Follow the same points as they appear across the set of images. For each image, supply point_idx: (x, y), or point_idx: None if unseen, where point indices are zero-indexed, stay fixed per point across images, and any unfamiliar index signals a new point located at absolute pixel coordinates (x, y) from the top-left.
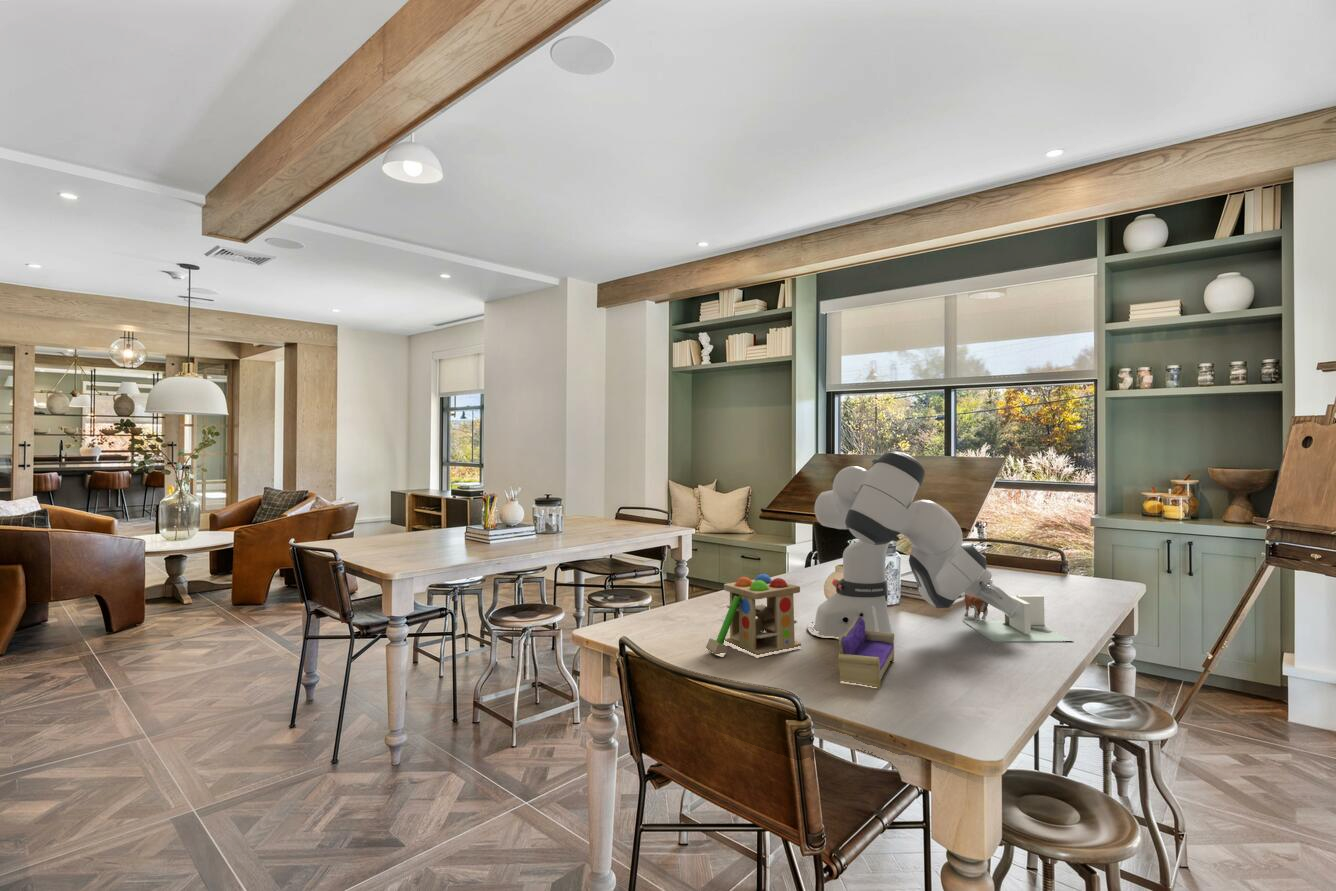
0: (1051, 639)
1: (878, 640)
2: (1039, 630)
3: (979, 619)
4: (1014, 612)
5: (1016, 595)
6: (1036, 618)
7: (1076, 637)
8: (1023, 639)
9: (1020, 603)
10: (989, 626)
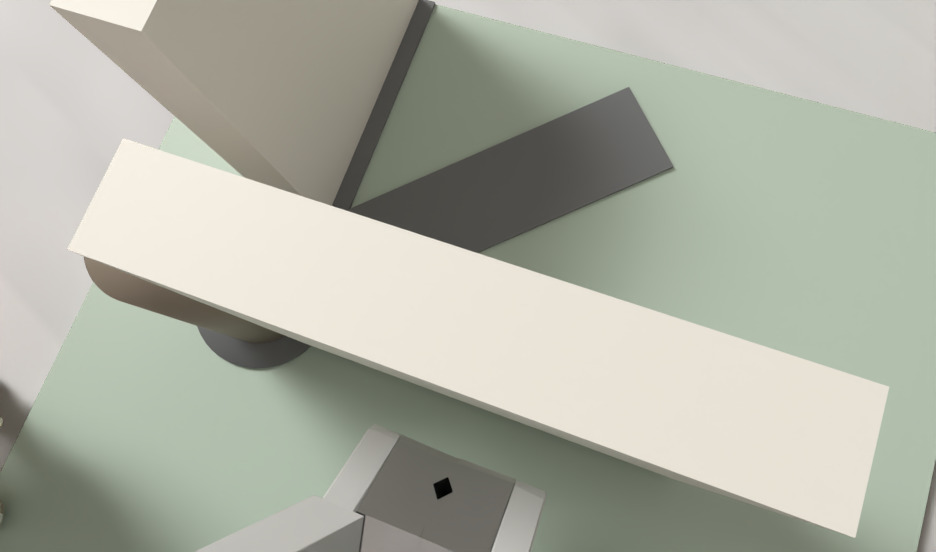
0: (903, 328)
1: None
2: (567, 187)
3: (2, 518)
4: (535, 524)
5: (52, 6)
6: (374, 23)
7: (835, 12)
8: None
9: (631, 455)
10: None
